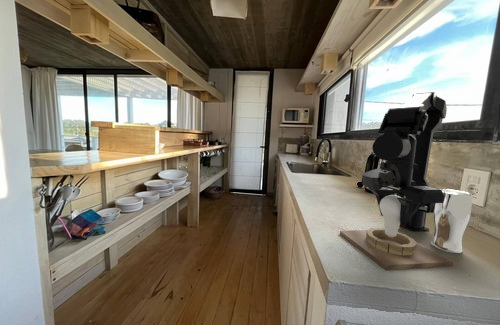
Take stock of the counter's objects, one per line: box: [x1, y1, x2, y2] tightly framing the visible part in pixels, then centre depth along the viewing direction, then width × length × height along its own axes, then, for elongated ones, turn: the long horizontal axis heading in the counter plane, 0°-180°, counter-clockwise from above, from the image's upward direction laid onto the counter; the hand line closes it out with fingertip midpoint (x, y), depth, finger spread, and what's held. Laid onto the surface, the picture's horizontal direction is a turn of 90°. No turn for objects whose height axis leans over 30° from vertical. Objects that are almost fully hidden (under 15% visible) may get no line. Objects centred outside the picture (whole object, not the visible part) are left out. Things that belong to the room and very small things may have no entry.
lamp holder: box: [339, 227, 454, 271], centre depth 54 cm, size 17×17×3 cm
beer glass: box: [430, 188, 473, 254], centre depth 55 cm, size 7×7×15 cm
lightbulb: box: [379, 194, 401, 238], centre depth 54 cm, size 6×6×11 cm
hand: (392, 220), depth 54 cm, fingers closed on lightbulb, 6 cm apart
